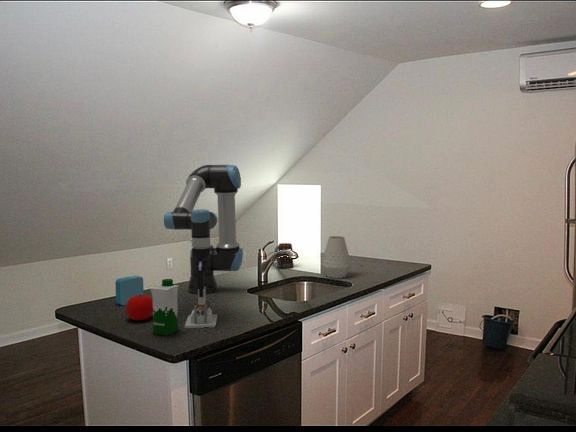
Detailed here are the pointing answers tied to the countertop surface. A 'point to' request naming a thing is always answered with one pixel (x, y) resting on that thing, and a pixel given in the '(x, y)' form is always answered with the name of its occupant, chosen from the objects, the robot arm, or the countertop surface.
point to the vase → (336, 258)
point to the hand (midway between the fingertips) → (201, 302)
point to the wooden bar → (201, 309)
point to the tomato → (139, 307)
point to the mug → (284, 257)
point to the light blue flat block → (128, 288)
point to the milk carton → (165, 308)
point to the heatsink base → (201, 325)
